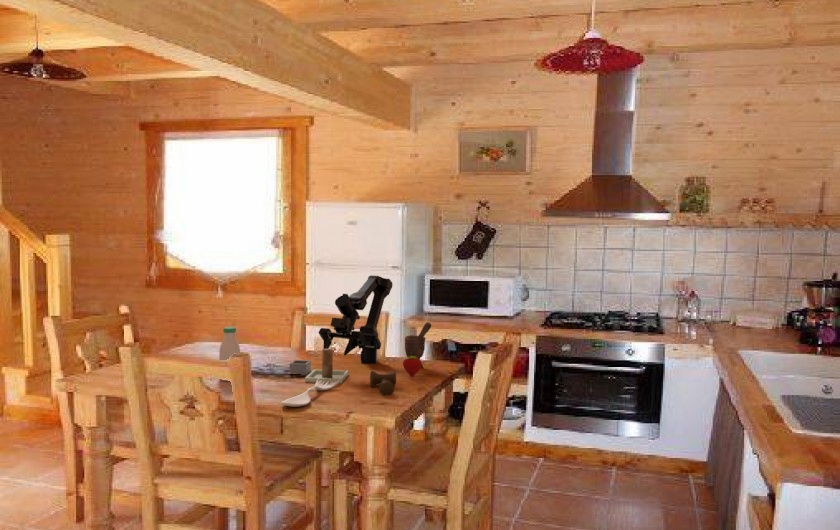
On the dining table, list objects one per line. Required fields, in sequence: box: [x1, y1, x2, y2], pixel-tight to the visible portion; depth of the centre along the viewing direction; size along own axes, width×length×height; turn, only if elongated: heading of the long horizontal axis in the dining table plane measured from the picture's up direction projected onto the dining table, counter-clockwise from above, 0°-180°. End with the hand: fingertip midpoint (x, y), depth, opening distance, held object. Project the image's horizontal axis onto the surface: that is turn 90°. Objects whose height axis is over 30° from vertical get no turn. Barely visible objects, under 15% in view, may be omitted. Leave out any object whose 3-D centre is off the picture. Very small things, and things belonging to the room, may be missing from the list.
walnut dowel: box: [321, 348, 334, 378], centre depth 251 cm, size 4×4×11 cm
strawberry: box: [402, 352, 423, 378], centre depth 258 cm, size 6×8×10 cm
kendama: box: [369, 370, 397, 396], centre depth 240 cm, size 6×10×20 cm
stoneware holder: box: [289, 359, 312, 376], centre depth 259 cm, size 7×7×5 cm
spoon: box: [280, 378, 340, 408], centre depth 226 cm, size 9×32×3 cm, turn 163°
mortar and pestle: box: [404, 321, 432, 369], centre depth 273 cm, size 12×9×20 cm
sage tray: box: [304, 369, 350, 385], centre depth 251 cm, size 14×14×2 cm
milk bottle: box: [218, 326, 241, 382], centre depth 249 cm, size 8×8×20 cm
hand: (334, 353), depth 255 cm, fingers open, 9 cm apart
